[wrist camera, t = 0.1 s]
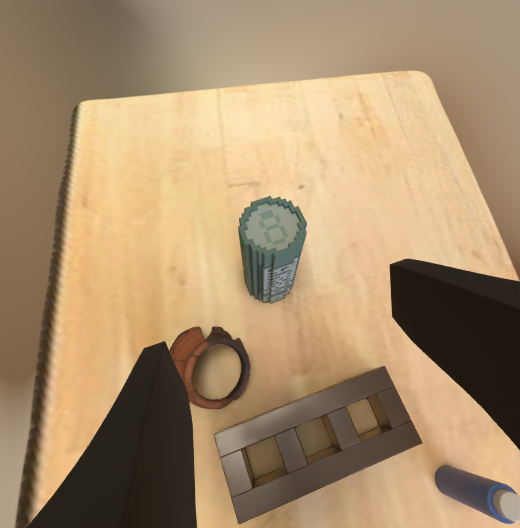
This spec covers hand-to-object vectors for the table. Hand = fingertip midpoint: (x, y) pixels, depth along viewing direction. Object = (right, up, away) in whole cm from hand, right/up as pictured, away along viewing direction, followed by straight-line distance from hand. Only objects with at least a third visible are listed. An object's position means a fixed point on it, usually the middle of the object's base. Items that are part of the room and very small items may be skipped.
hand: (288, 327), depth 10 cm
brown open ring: (-8, -11, +30) cm, 33 cm away
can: (0, 0, +35) cm, 35 cm away
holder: (+5, -17, +27) cm, 33 cm away
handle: (+19, -21, +26) cm, 39 cm away
